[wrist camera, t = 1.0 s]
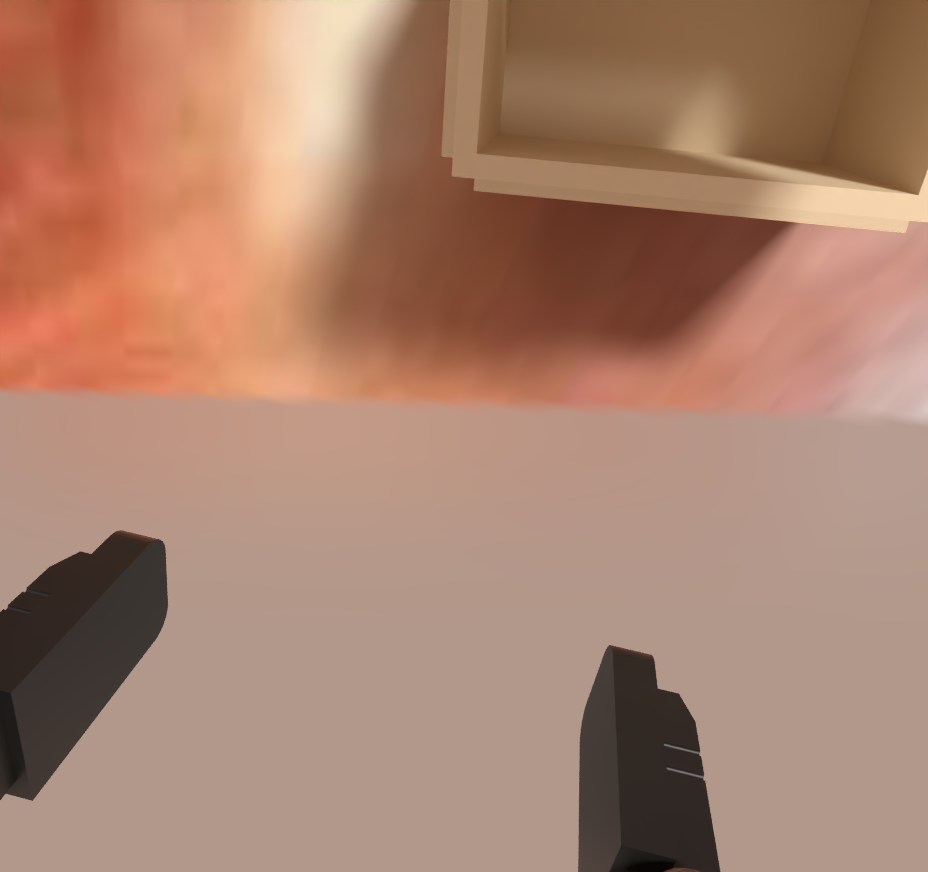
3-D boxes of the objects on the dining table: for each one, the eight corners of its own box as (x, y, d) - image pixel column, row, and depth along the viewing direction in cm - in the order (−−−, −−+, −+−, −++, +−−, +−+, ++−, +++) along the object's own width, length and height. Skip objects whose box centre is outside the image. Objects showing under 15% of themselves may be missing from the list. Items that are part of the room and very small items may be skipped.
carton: (472, 158, 33) (439, 187, 25) (497, -180, 28) (466, -300, 19) (838, 192, 32) (943, 236, 23) (944, -154, 26) (1135, -270, 18)
